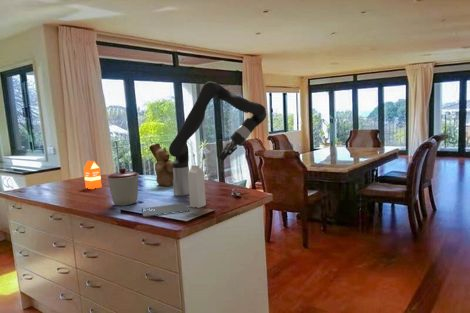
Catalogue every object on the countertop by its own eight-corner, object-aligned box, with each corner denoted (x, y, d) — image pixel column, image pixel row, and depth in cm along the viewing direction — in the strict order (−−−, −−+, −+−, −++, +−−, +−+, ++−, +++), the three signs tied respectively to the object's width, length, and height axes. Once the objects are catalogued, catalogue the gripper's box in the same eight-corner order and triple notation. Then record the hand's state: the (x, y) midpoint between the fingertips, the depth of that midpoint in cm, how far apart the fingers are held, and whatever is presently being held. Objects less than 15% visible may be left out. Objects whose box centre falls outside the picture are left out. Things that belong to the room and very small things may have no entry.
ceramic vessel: (168, 187, 245) (165, 144, 241) (146, 185, 256) (142, 144, 253) (183, 183, 258) (180, 142, 254) (162, 181, 270) (158, 142, 266)
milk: (197, 204, 193) (195, 164, 190) (206, 205, 189) (203, 164, 187) (190, 206, 188) (187, 166, 185) (198, 208, 184) (195, 166, 182)
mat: (143, 217, 173) (143, 216, 173) (141, 209, 188) (141, 208, 188) (189, 211, 179) (189, 209, 179) (184, 204, 194) (184, 203, 194)
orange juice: (95, 186, 265) (92, 160, 263) (101, 187, 260) (99, 160, 258) (85, 188, 259) (82, 161, 257) (92, 189, 254) (89, 161, 252)
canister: (116, 200, 213) (112, 166, 210) (145, 199, 212) (142, 164, 210) (104, 208, 195) (100, 171, 192) (136, 207, 194) (132, 169, 192)
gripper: (232, 130, 197) (212, 153, 195) (239, 131, 184) (218, 156, 182) (241, 139, 199) (222, 162, 197) (249, 140, 186) (229, 165, 184)
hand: (220, 159), depth 190 cm, fingers open, 3 cm apart
